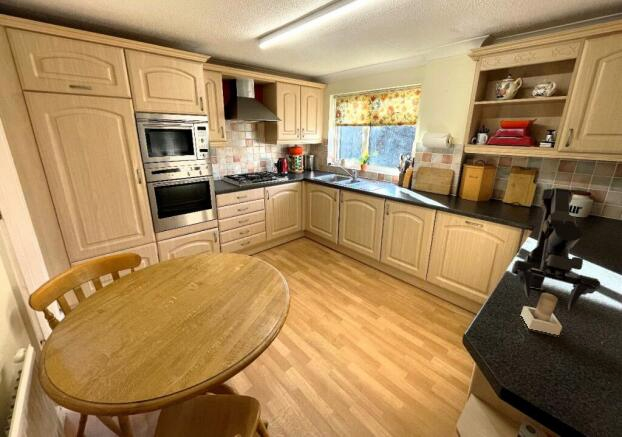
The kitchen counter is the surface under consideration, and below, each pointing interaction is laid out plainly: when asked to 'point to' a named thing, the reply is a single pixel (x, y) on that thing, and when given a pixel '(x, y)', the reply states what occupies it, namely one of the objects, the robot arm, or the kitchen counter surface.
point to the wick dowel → (545, 307)
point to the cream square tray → (540, 322)
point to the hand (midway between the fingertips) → (548, 303)
